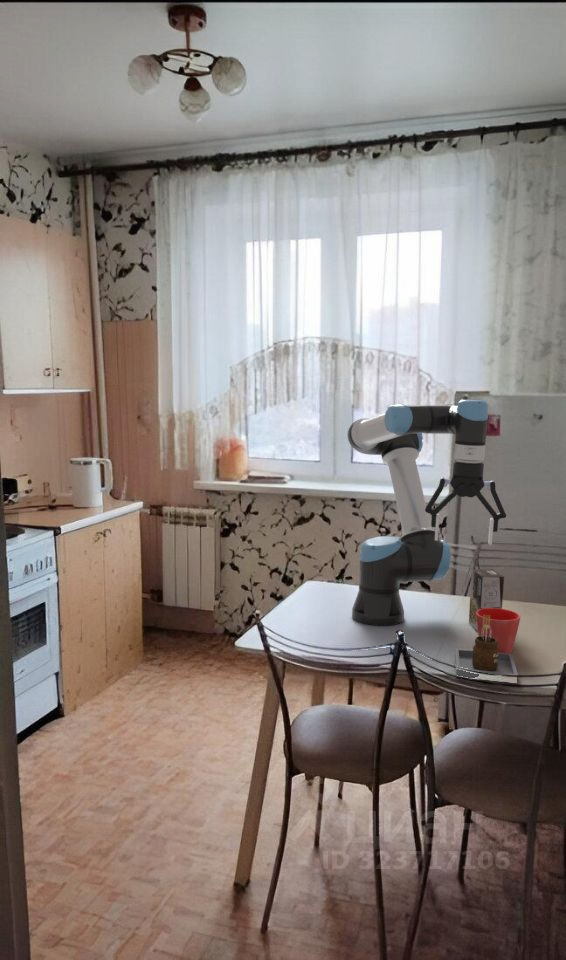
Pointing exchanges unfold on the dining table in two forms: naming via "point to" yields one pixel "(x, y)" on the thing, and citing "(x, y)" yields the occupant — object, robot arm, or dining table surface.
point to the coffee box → (485, 592)
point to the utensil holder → (485, 650)
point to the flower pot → (499, 626)
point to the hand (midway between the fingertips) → (462, 541)
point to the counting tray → (465, 660)
